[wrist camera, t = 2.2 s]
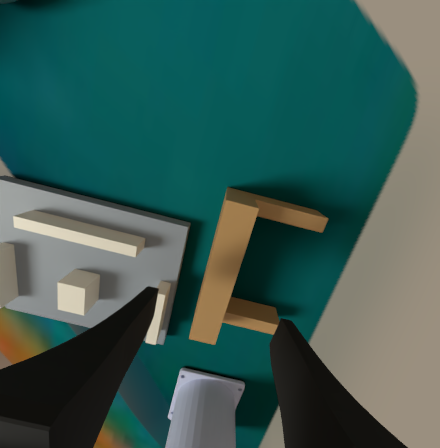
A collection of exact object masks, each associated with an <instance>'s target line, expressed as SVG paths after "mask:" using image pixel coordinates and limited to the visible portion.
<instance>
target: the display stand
mask: <svg viewBox="0 0 440 448" xmlns="http://www.w3.org/2000/svg"><path fill="white" fill-rule="evenodd" d="M190 225H191V223H189V222H186V221H182V220H178V219H174V218H170V217H166V216H162V215H158V214H154V213H150V212H146V211H142V210H138V209H134V208H131V207H127V206H123V205H119V204H115V203H111V202H107V201H103V200H99V199H95V198H91V197H87V196H83V195H79V194H75V193H72V192H68V191H64V190H60V189H56V188H52V187H48V186H44V185H40V184H36V183H32V182H28V181H24V180H20V179H17V178H13V177H8V176H0V308H2V307H3V306H6V308H8V309H12V310H17V311H21V312H25V313H29V314H34V315H38V316H42V317H47V318H51V319H55V320H59V321H64V322H68V323H72V324H77V325H81V326H85V327H89V328H92V327H93V326H95V325H97V324H98V323H100V322H101V321H103V320H105V319H106V318H107V317H109V316H110V315H112V314H113V313H115V312H116V311H117V310H119V309H120V308H122V307H123V306H124V305H125V304H127V303H128V302H129V301H131V300H132V299H133V298H134V297H135V296H137V295H138V294H139V293H140V292H141V291H143V290H144V289H145V288H146V287H148V286H150V287H155V288H159V291H158V296H157V302H156V307H155V313H154V317H153V320H152V322H151V325H150V327H149V330H148V332H147V334H146V336H145V338H144V341H146V342H145V343H150V344H154V345H156V343H157V344H161V345H163V344H164V341H165V338H166V335H167V331H168V326H169V322H170V317H171V312H172V308H173V303H174V298H175V294H176V289H177V285H178V280H179V275H180V271H181V266H182V262H183V257H184V252H185V248H186V243H187V238H188V234H189V229H190Z"/></svg>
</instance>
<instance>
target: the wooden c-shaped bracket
mask: <svg viewBox="0 0 440 448" xmlns="http://www.w3.org/2000/svg"><path fill="white" fill-rule="evenodd" d="M257 216H258V217H262V218H266V219H270V220H274V221H278V222H282V223H286V224H289V225H293V226H297V227H301V228H305V229H309V230H313V231H317V232H320V233H322V232H323V230H324V228H325V226H326V223H327V221H328V218H327V217H325V216H324V215H323V214H321V213H320V212H318V211H317V210H313V209H310V208H306V207H302V206H298V205H294V204H290V203H287V202H283V201H279V200H275V199H271V198H267V197H264V196H260V195H256V194H252V193H248V192H244V191H241V190H237V189H233V188H229V187H227V191H226V194H225V198H224V202H223V206H222V210H221V213H220V217H219V221H218V225H217V229H216V232H215V236H214V240H213V244H212V248H211V251H210V255H209V259H208V263H207V267H206V270H205V274H204V278H203V282H202V286H201V289H200V293H199V297H198V301H197V305H196V310H195V314H194V319H193V323H192V327H191V332H190V336H189V339H192V340H196V341H200V342H204V343H209V344H213V345H215V343H216V340H217V337H218V334H219V331H220V328H221V324H222V322H223V323H227V324H232V325H236V326H240V327H244V328H248V329H252V330H257V331H261V332H265V333H269V334H273V335H274V333H275V331H276V329H277V326H278V324H279V318H278V315H277V311H276V308H275V307H271V306H267V305H263V304H259V303H255V302H251V301H247V300H242V299H238V298H234V297H231V294H232V291H233V288H234V285H235V282H236V278H237V275H238V272H239V269H240V266H241V263H242V260H243V257H244V254H245V251H246V248H247V245H248V242H249V239H250V235H251V232H252V229H253V226H254V223H255V220H256V217H257Z"/></svg>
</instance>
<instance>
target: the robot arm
mask: <svg viewBox="0 0 440 448" xmlns="http://www.w3.org/2000/svg"><path fill="white" fill-rule="evenodd" d="M158 291H159V288H155V287H150V286H148V287H146V288H145V289H144V290H143V291H141V292H140V293H139V294H138V295H137V296H135V297H134V298H133V299H132V300H131V301H129V302H128V303H127V304H125V305H124V306H123V307H122V308H120V309H119V310H117V311H116V312H115V313H113V314H112V315H110V316H109V317H107V318H106V319H105V320H103V321H101V322H100V323H98V324H97V325H95V326H93V327H92V328H91V329H88V330H87V331H85V332H83V333H81V334H80V335H78V336H76V337H74V338H72V339H70V340H68V341H66V342H64V343H62V344H60V345H58V346H56V347H54V348H52V349H50V350H47V351H45V352H43V353H41V354H39V355H36V356H34V357H32V358H29V359H27V360H24V361H21V362H19V363H16V364H13V365H11V366H8V367H6V368H3V369H0V448H93V447H94V444H95V442H96V440H97V437H98V435H99V432H100V430H101V428H102V425H103V423H104V421H105V418H106V416H107V414H108V411H109V409H110V407H111V404H112V402H113V400H114V397H115V395H116V393H117V391H118V388H119V386H120V384H121V382H122V380H123V378H124V376H125V374H126V372H127V370H128V368H129V366H130V364H131V363H132V361H133V359H134V357H135V355H136V353H137V351H138V350H139V348H140V346H141V344H142V342H143V340H144V338H145V336H146V334H147V332H148V330H149V327H150V325H151V322H152V320H153V317H154V313H155V307H156V302H157V296H158ZM270 357H271V366H272V371H273V376H274V381H275V386H276V391H277V396H278V401H279V406H280V411H281V418H282V425H283V434H284V443H285V448H408V447H406V446H405V445H404V444H403V443H402V442H400V441H399V440H398V439H397V438H396V437H395V436H394V435H393V434H391V433H390V432H389V431H388V430H387V429H386V428H385V427H383V426H382V425H381V424H380V423H379V422H378V421H377V420H376V419H375V418H374V417H373V416H372V415H371V414H369V412H368V411H367V410H366V409H364V408H363V407H362V406H361V405H360V404H359V403H358V402H357V401H356V400H355V399H354V398H353V396H352V395H351V394H350V393H349V392H348V391H347V390H346V389H345V388H344V387H343V386H342V385H341V384H340V382H339V381H338V380H337V379H336V378H335V377H334V376H333V374H332V373H331V372H330V371H329V370H328V369H327V367H326V366H325V365H324V363H322V361H321V360H320V358H319V357H318V356H317V355H316V353H315V352H314V351H313V349H312V348H311V347H310V345H309V344H308V343H307V341H306V340H305V338H304V337H303V336H302V334H301V333H300V332H299V330H298V329H297V328H296V326H295V325H294V324H293V322H292V321H290V320H286V319H282V318H281V320H280V322H279V324H278V326H277V329H276V331H275V333H274V335H273V338H272V340H271V342H270ZM244 388H245V383H244V382H243V381H239V380H235V379H230V378H226V377H222V376H218V375H213V374H209V373H205V372H200V371H196V370H192V369H187V368H182V369H181V370H180V373H179V376H178V380H177V384H176V388H175V392H174V395H173V399H172V403H171V407H170V410H169V414H168V418H169V419H170V420H171V425H170V429H169V433H168V438H167V442H166V447H165V448H235V409H236V407H237V405H238V402H239V400H240V398H241V395H242V393H243V391H244Z"/></svg>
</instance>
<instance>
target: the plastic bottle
mask: <svg viewBox="0 0 440 448" xmlns="http://www.w3.org/2000/svg"><path fill="white" fill-rule="evenodd" d="M15 1H18V0H0V4H6V3H10V2H15Z"/></svg>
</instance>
